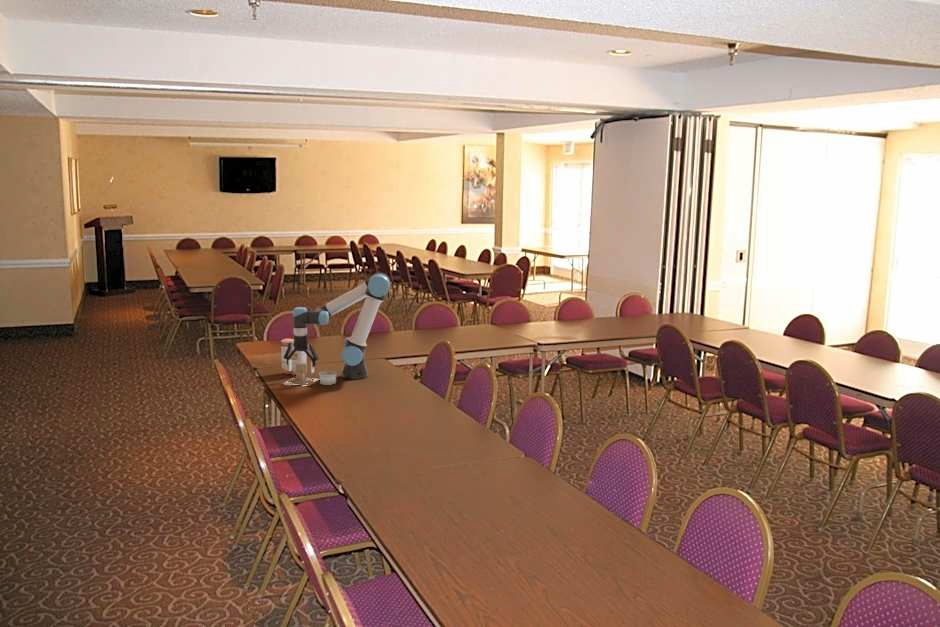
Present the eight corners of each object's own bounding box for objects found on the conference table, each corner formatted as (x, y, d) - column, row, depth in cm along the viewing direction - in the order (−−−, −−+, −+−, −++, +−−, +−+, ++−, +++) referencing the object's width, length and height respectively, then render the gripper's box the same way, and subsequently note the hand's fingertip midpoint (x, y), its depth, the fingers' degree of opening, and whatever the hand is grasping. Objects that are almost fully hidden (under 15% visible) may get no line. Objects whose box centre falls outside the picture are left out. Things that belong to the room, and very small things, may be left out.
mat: (294, 378, 449) (294, 377, 449) (320, 379, 446) (320, 379, 446) (282, 384, 434) (282, 383, 434) (308, 386, 431) (308, 385, 430)
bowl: (323, 381, 442) (323, 370, 441) (339, 382, 440) (339, 371, 439) (316, 385, 433) (315, 374, 432) (332, 387, 431) (332, 375, 430)
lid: (297, 378, 446) (296, 361, 445) (314, 379, 444) (314, 362, 442) (288, 383, 436) (287, 365, 434) (306, 384, 433) (306, 366, 432)
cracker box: (281, 374, 458) (280, 339, 454) (287, 372, 463) (286, 337, 460) (301, 376, 453) (300, 341, 449) (307, 374, 458) (306, 339, 455)
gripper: (276, 334, 435) (278, 371, 438) (318, 337, 429) (319, 374, 433) (283, 332, 442) (284, 368, 445) (323, 334, 437) (324, 371, 440)
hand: (301, 371), depth 439 cm, fingers open, 13 cm apart
